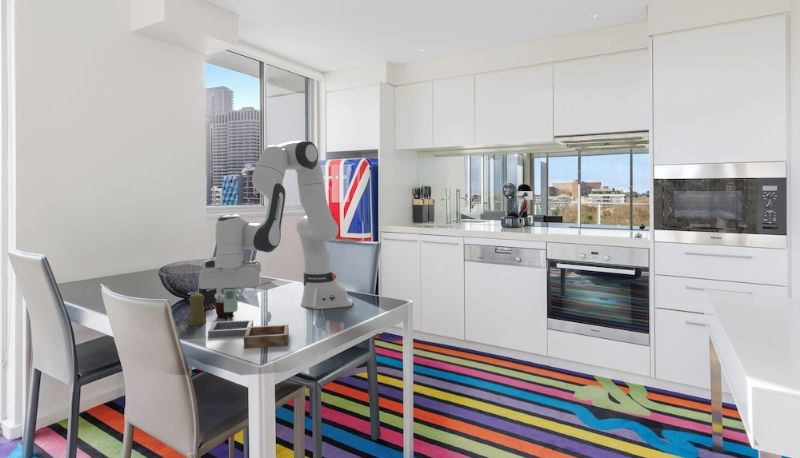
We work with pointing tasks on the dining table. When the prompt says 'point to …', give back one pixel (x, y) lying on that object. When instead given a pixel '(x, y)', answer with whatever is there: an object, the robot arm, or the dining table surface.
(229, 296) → the plug
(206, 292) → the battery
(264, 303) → the dining table surface
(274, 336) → the shallow wooden tray
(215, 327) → the shallow grey tray
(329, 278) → the robot arm
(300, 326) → the dining table surface
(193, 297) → the olive waisted shaker
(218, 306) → the mate gourd
